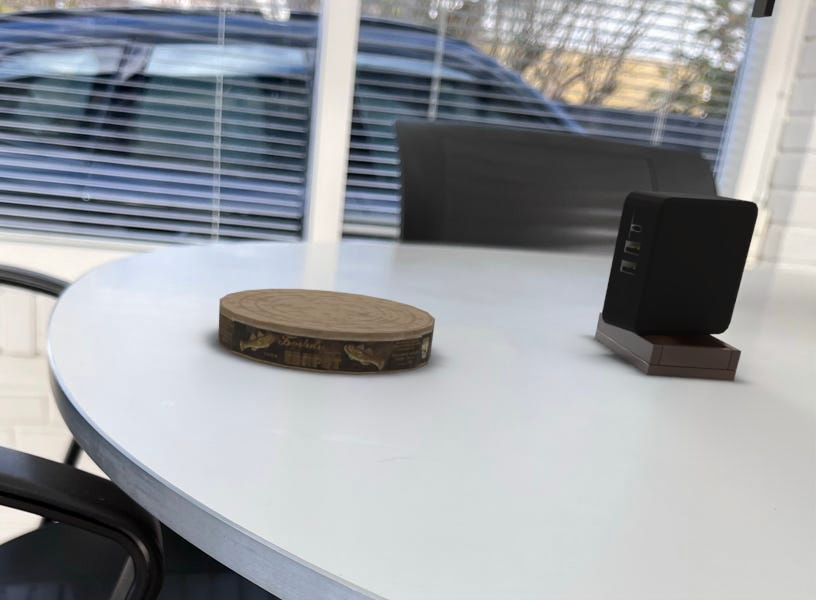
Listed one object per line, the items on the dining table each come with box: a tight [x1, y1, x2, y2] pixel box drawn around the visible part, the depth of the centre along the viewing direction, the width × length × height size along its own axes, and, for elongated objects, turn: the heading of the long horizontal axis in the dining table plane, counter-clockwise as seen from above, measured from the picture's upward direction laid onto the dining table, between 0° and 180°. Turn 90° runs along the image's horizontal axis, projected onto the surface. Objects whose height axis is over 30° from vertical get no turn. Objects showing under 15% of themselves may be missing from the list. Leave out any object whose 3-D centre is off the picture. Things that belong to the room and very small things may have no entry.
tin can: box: [217, 288, 436, 376], centre depth 78 cm, size 16×16×3 cm
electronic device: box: [602, 190, 759, 335], centre depth 83 cm, size 4×10×10 cm, turn 116°
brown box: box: [594, 310, 742, 382], centre depth 86 cm, size 7×13×2 cm, turn 5°
